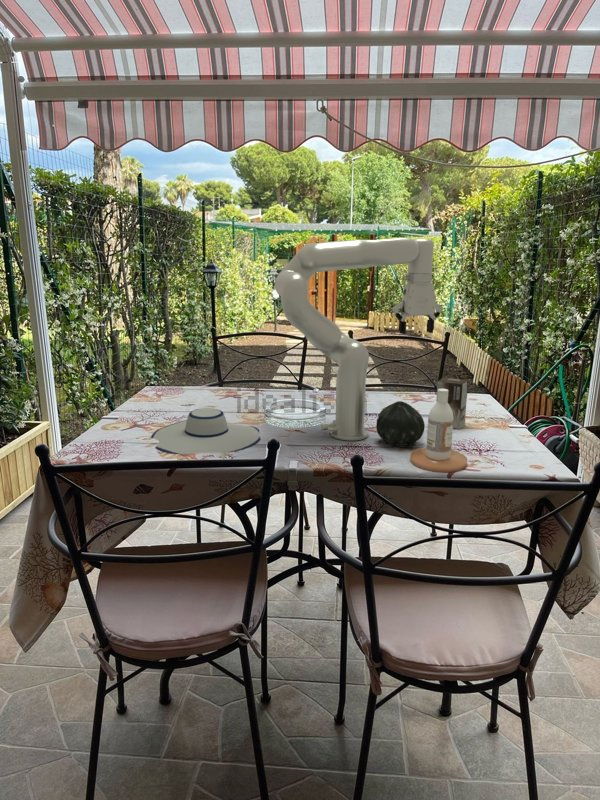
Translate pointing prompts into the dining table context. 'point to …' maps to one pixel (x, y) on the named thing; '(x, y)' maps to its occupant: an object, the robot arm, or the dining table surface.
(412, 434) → the squash
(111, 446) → the dining table surface
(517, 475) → the dining table surface
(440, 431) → the bath foam
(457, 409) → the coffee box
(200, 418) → the sun hat
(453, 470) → the terracotta dish
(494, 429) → the dining table surface
